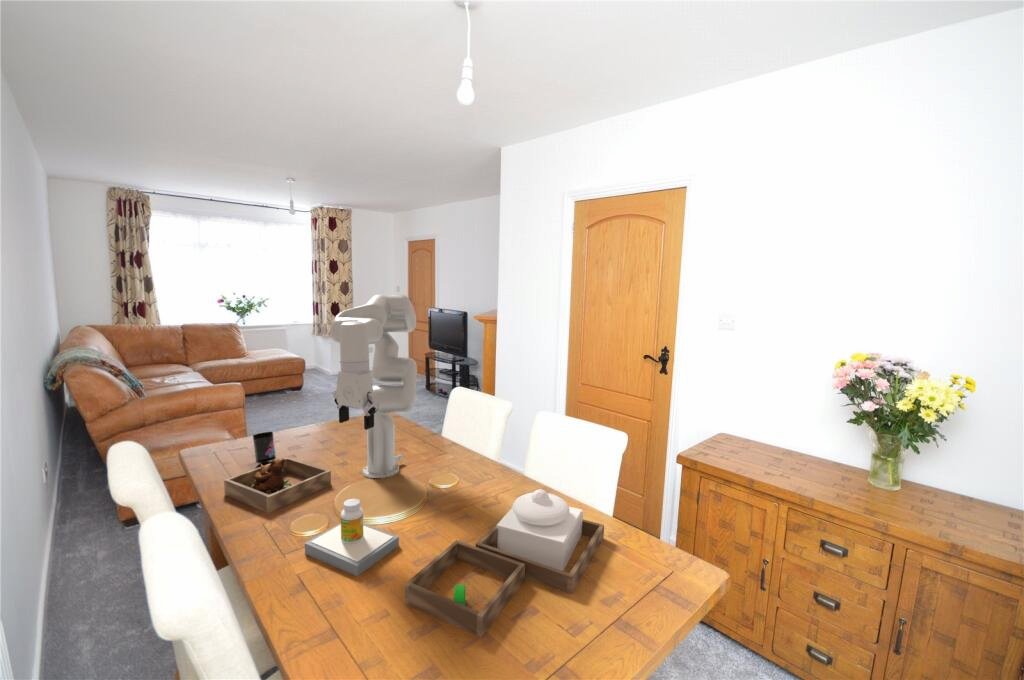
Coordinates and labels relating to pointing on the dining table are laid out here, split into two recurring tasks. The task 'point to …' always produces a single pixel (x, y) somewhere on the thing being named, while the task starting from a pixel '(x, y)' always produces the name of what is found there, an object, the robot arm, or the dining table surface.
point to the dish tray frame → (545, 572)
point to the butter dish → (541, 529)
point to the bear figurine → (270, 478)
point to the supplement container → (264, 447)
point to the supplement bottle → (351, 522)
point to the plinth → (352, 549)
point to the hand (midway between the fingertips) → (356, 424)
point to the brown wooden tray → (269, 503)
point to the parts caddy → (453, 610)
